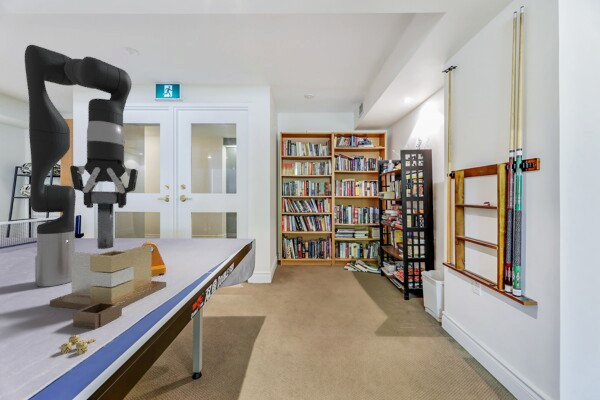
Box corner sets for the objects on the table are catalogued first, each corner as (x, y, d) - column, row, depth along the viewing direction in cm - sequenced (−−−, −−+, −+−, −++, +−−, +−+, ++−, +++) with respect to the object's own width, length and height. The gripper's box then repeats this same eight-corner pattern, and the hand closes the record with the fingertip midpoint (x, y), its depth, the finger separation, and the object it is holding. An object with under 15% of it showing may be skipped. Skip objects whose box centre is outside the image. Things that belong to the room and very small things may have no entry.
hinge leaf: (133, 292, 71) (133, 252, 71) (111, 301, 65) (111, 258, 64) (86, 287, 74) (86, 249, 74) (60, 296, 68) (60, 255, 68)
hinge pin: (83, 249, 62) (84, 191, 61) (106, 244, 68) (107, 191, 67) (103, 250, 61) (104, 191, 60) (125, 245, 66) (125, 192, 66)
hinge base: (13, 318, 59) (13, 261, 59) (115, 282, 85) (115, 242, 85) (96, 329, 55) (96, 267, 55) (176, 287, 81) (176, 245, 80)
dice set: (84, 357, 46) (84, 347, 46) (52, 360, 45) (52, 349, 45) (101, 341, 51) (101, 332, 51) (73, 344, 50) (73, 334, 50)
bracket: (132, 280, 88) (132, 246, 88) (132, 274, 94) (132, 243, 94) (166, 274, 94) (166, 243, 94) (164, 270, 100) (164, 240, 100)
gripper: (62, 136, 57) (62, 208, 58) (135, 142, 63) (135, 208, 63) (77, 142, 64) (76, 206, 65) (141, 147, 70) (141, 207, 70)
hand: (105, 207), depth 64 cm, fingers closed on hinge pin, 6 cm apart
